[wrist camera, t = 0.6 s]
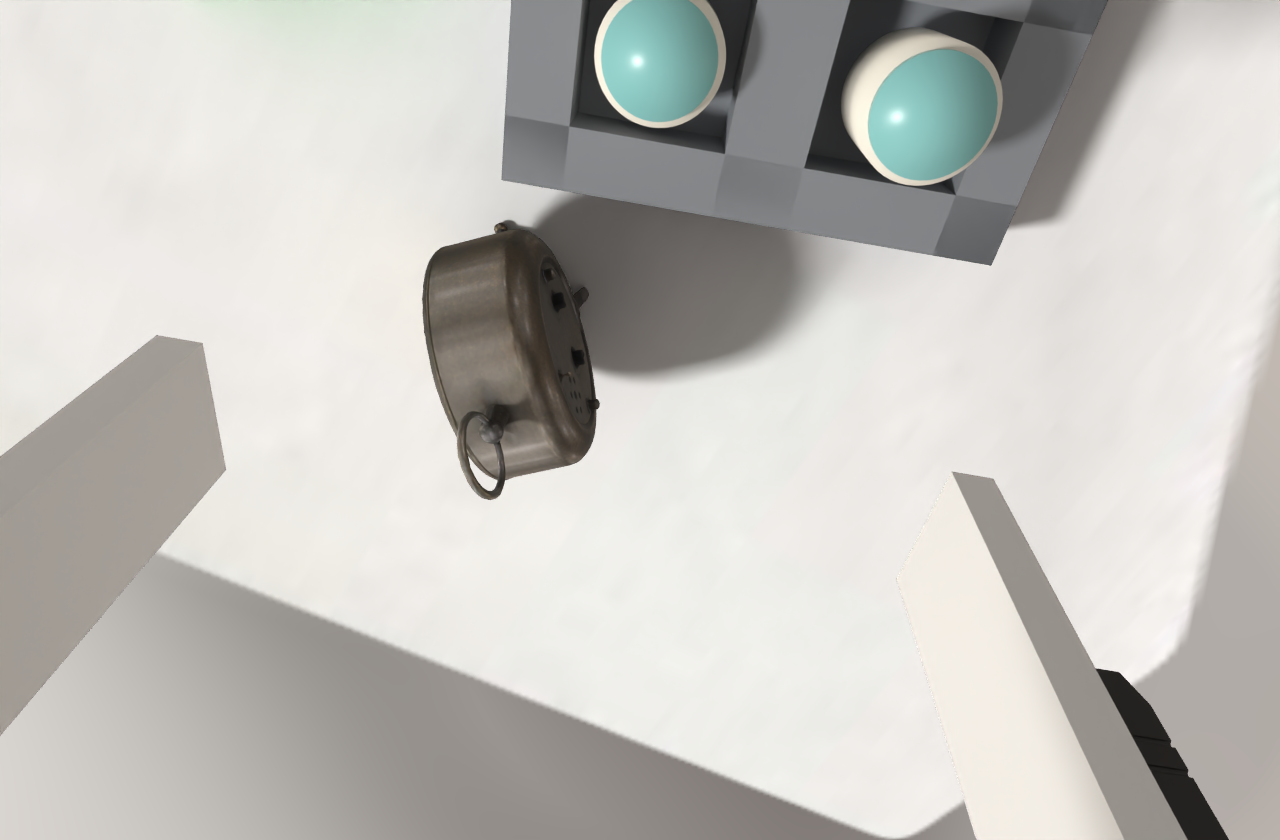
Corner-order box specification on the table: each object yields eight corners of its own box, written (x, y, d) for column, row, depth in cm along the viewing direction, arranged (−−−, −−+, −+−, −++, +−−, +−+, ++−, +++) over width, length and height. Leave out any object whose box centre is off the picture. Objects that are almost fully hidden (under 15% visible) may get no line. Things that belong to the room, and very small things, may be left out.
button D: (613, -34, 30) (602, -29, 27) (734, -11, 30) (740, -3, 27) (597, 97, 33) (585, 118, 29) (708, 117, 33) (710, 140, 29)
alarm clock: (462, 209, 37) (332, 365, 24) (564, 183, 36) (489, 331, 23) (533, 392, 43) (460, 603, 29) (623, 374, 42) (591, 584, 28)
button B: (863, 16, 29) (888, 28, 25) (987, 39, 29) (1031, 54, 25) (825, 148, 32) (843, 176, 28) (940, 168, 32) (972, 199, 28)
